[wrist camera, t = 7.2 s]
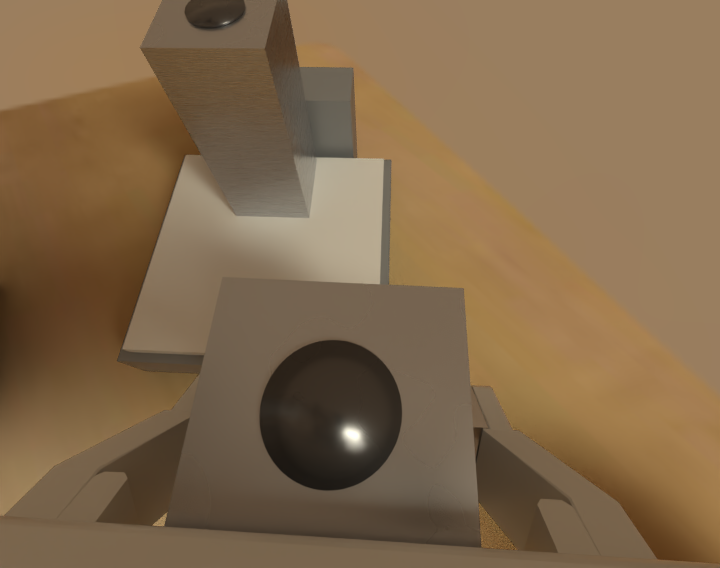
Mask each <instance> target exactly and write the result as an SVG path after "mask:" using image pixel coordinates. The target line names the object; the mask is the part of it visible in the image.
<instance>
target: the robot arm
mask: <svg viewBox="0 0 720 568" xmlns="http://www.w3.org/2000/svg"><path fill="white" fill-rule="evenodd" d="M199 376H200V374H199V375H198V376H197V378H196V379H195V380H194V381H193V383H192V384H191V385H190V387H189V388H188V389H187V390H186V392H185V393H184V394H183V395H182V397H181V398H180V399H179V400H178V402H177V403H176V404H175V406H174V407H173V408H172V409H171V410H164V411H162V412H160V413H158V414H156V415H154V416H152V417H150V418H148V419H146V420H144V421H142V422H140V423H138V424H136V425H134V426H132V427H130V428H128V429H126V430H124V431H123V432H121V433H119V434H117V435H115V436H113V437H111V438H109V439H107V440H105V441H103V442H101V443H99V444H97V445H95V446H93V447H91V448H89V449H87V450H85V451H83V452H81V453H79V454H77V455H75V456H73V457H71V458H69V459H67V460H65V461H63V462H62V463H60V464H58V465H56V466H54V467H53V468H52V469H51V470H50V471H49V472H48V473H47V474H46V475H45V476H44V477H43V478H42V479H41V480H40V481H39V482H38V483H37V484H36V485H35V486H34V487H33V488H32V489H31V490H30V491H29V492H28V493H27V494H26V495H25V496H23V497H22V498H21V499H20V500H19V501H18V502H17V503H16V504H15V505H14V506H13V507H12V508H11V509H10V510H9V511H8V512H7V513H6V514H5V515H4V516H0V568H720V564H718V563H703V562H688V561H673V560H658V559H657V558H656V556H655V555H654V553H653V552H652V550H651V549H650V548H649V546H648V545H647V543H646V542H645V540H644V539H643V537H642V536H641V534H640V533H639V531H638V530H637V528H636V527H635V526H634V524H633V523H632V521H631V520H630V518H629V517H628V515H627V514H626V512H625V511H624V509H623V508H622V506H621V505H620V504H619V502H617V501H616V500H615V499H613V498H612V497H611V496H609V495H608V494H606V493H605V492H604V491H602V490H601V489H599V488H598V487H597V486H595V485H594V484H592V483H591V482H590V481H588V480H587V479H585V478H584V477H583V476H581V475H580V474H579V473H577V472H576V471H574V470H573V469H572V468H570V467H569V466H567V465H566V464H565V463H563V462H562V461H560V460H559V459H558V458H556V457H555V456H553V455H552V454H551V453H549V452H548V451H547V450H545V449H544V448H542V447H541V446H540V445H538V444H537V443H535V442H534V441H533V440H531V439H530V438H528V437H527V436H526V435H524V434H523V433H521V432H520V431H517V430H512V428H511V426H510V423H509V421H508V419H507V417H506V415H505V413H504V411H503V409H502V407H501V405H500V403H499V401H498V399H497V397H496V395H495V393H494V391H493V389H492V388H491V387H490V386H472V385H470V389H471V403H472V418H473V432H474V447H475V462H476V476H477V491H478V502H479V503H480V504H481V505H482V506H483V508H484V509H485V510H486V511H487V512H488V514H489V515H490V516H491V517H492V519H493V520H494V521H495V522H496V523H497V525H498V526H499V527H500V528H501V529H502V531H503V532H504V533H505V534H506V536H507V537H508V538H509V539H510V540H511V542H512V543H513V544H514V545H515V546H516V548H517V549H518V550H507V549H492V548H477V547H463V546H448V545H433V544H419V543H404V542H389V541H375V540H360V539H345V538H329V537H314V536H299V535H284V534H269V533H254V532H239V531H224V530H209V529H194V528H179V527H164V526H152V525H153V524H154V523H155V522H156V521H157V520H158V519H160V518H161V517H162V516H163V515H164V514H165V513H166V512H168V509H169V504H170V500H171V496H172V491H173V487H174V483H175V479H176V474H177V470H178V466H179V461H180V457H181V453H182V449H183V444H184V440H185V436H186V431H187V427H188V423H189V419H190V414H191V410H192V406H193V401H194V397H195V393H196V389H197V384H198V380H199Z"/></svg>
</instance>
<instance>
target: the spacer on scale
mask: <svg viewBox="0 0 720 568" xmlns="http://www.w3.org/2000/svg"><path fill="white" fill-rule="evenodd" d="M140 49H141V50H142V52H143V54H144V56H145V57H146V59H147V61H148V62H149V64H150V66H151V68H152V69H153V71H154V73H155V75H156V76H157V78H158V80H159V82H160V83H161V85H162V87H163V89H164V90H165V92H166V94H167V96H168V97H169V99H170V101H171V103H172V104H173V106H174V108H175V110H176V111H177V113H178V115H179V117H180V118H181V120H182V122H183V124H184V125H185V127H186V129H187V131H188V132H189V134H190V136H191V138H192V139H193V141H194V143H195V144H196V146H197V148H198V150H199V151H200V153H201V155H202V157H203V158H204V160H205V162H206V164H207V165H208V167H209V169H210V171H211V172H212V174H213V176H214V178H215V179H216V181H217V183H218V185H219V186H220V188H221V190H222V192H223V193H224V195H225V197H226V199H227V200H228V202H229V204H230V206H231V207H232V209H233V211H234V212H235V214H236V216H255V217H290V218H309V217H310V210H311V202H312V194H313V187H314V179H315V171H316V164H317V159H316V154H315V148H314V143H313V137H312V132H311V127H310V121H309V116H308V110H307V105H306V100H305V94H304V89H303V83H302V78H301V73H300V67H299V62H298V56H297V51H296V46H295V40H294V35H293V29H292V25H291V19H290V13H289V8H288V3H287V0H162V2H161V4H160V6H159V8H158V11H157V13H156V15H155V17H154V19H153V21H152V23H151V25H150V28H149V30H148V32H147V34H146V36H145V38H144V40H143V42H142V45H141V47H140Z"/></svg>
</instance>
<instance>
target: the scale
mask: <svg viewBox="0 0 720 568" xmlns="http://www.w3.org/2000/svg"><path fill="white" fill-rule="evenodd" d="M300 73H301V78H302V83H303V89H304V94H305V100H306V105H307V110H308V116H309V121H310V127H311V132H312V137H313V143H314V148H315V154H316V159H317V164H316V171H315V179H314V187H313V194H312V202H311V210H310V217H309V218H290V217H255V216H236V214H235V212H234V211H233V209H232V207H231V206H230V204H229V202H228V200H227V199H226V197H225V195H224V193H223V192H222V190H221V188H220V186H219V185H218V183H217V181H216V179H215V178H214V176H213V174H212V172H211V171H210V169H209V167H208V165H207V164H206V162H205V160H204V158H203V157H202V155H186V156H184V159H183V162H182V165H181V168H180V171H179V174H178V177H177V180H176V183H175V186H174V189H173V193H172V196H171V199H170V202H169V205H168V208H167V211H166V214H165V217H164V220H163V223H162V226H161V229H160V232H159V235H158V238H157V241H156V244H155V247H154V250H153V253H152V256H151V259H150V262H149V265H148V268H147V271H146V274H145V278H144V281H143V284H142V287H141V290H140V293H139V296H138V299H137V302H136V305H135V308H134V311H133V314H132V317H131V320H130V323H129V326H128V329H127V332H126V335H125V338H124V341H123V344H122V347H121V350H120V353H119V356H118V359H117V361H118V362H121V363H124V364H127V365H130V366H133V367H135V368H138V369H141V370H144V371H157V372H178V373H199V374H200V371H201V367H202V363H203V359H204V354H205V350H206V346H207V341H208V337H209V333H210V329H211V324H212V320H213V316H214V311H215V307H216V303H217V299H218V294H219V290H220V286H221V281H222V277H234V278H255V279H277V280H298V281H319V282H340V283H362V284H383V285H389V249H390V201H391V160H384V159H369V158H357V139H356V117H355V94H354V72H353V68H330V67H300Z"/></svg>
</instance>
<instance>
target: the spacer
mask: <svg viewBox="0 0 720 568" xmlns="http://www.w3.org/2000/svg"><path fill="white" fill-rule="evenodd" d="M164 527H179V528H194V529H209V530H224V531H239V532H254V533H269V534H284V535H299V536H314V537H329V538H345V539H360V540H375V541H389V542H404V543H419V544H433V545H448V546H463V547H477V548H481V535H480V520H479V505H478V491H477V476H476V462H475V447H474V432H473V418H472V403H471V389H470V374H469V360H468V345H467V330H466V316H465V301H464V288H447V287H425V286H404V285H383V284H362V283H340V282H319V281H298V280H277V279H255V278H234V277H222V281H221V286H220V290H219V294H218V299H217V303H216V307H215V311H214V316H213V320H212V324H211V329H210V333H209V337H208V341H207V346H206V350H205V354H204V359H203V363H202V367H201V371H200V376H199V380H198V384H197V389H196V393H195V397H194V401H193V406H192V410H191V414H190V419H189V423H188V427H187V431H186V436H185V440H184V444H183V449H182V453H181V457H180V461H179V466H178V470H177V474H176V479H175V483H174V487H173V491H172V496H171V500H170V504H169V509H168V513H167V517H166V521H165V526H164Z"/></svg>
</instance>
